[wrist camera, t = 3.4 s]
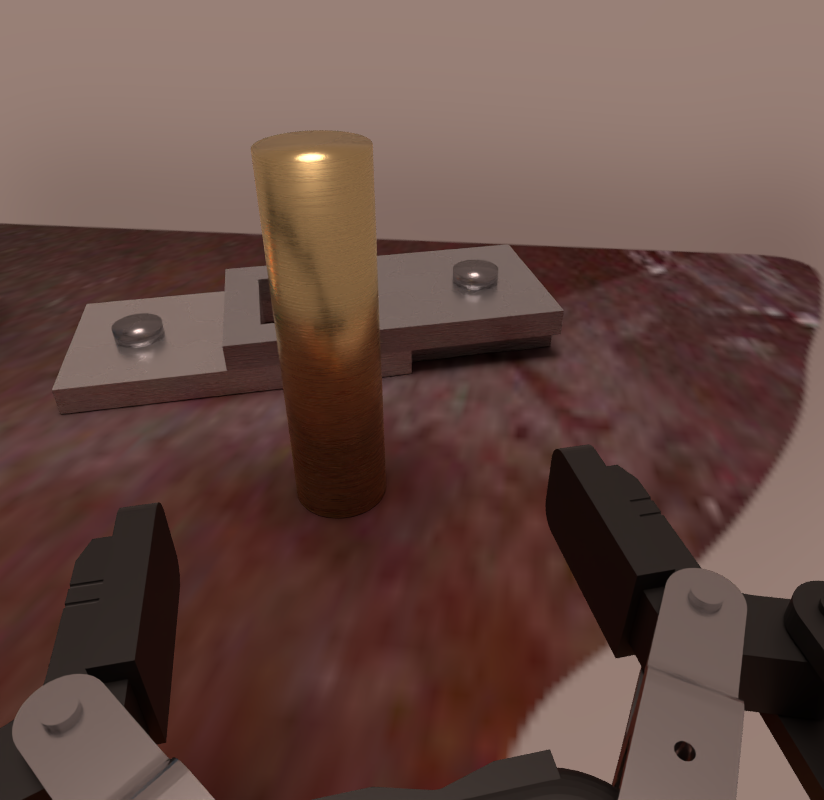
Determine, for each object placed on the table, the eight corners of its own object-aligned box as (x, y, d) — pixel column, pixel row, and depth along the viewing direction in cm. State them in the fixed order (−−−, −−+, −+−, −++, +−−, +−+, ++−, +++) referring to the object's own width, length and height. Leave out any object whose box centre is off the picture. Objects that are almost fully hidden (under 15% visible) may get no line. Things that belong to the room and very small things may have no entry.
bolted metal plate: (60, 414, 29) (37, 352, 27) (93, 325, 36) (76, 270, 34) (558, 356, 33) (565, 298, 31) (505, 285, 39) (509, 233, 37)
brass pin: (300, 524, 24) (251, 166, 17) (294, 464, 26) (249, 134, 20) (393, 510, 24) (381, 157, 17) (378, 453, 27) (363, 127, 20)
